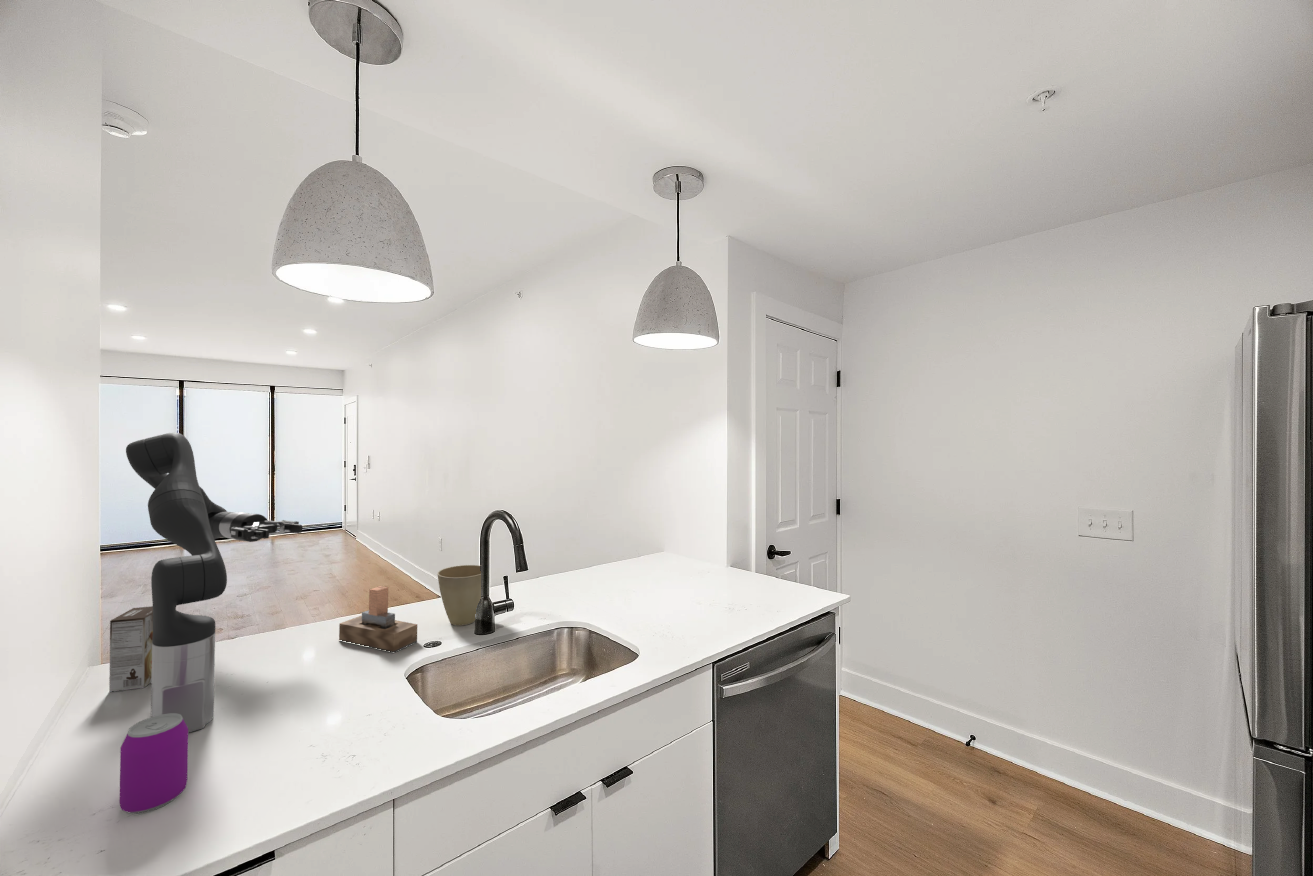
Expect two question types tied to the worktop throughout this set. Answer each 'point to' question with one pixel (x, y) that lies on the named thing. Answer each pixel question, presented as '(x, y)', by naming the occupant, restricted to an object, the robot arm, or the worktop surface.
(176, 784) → the beverage can
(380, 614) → the block on stand
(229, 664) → the worktop surface
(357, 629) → the slotted block
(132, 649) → the coffee box
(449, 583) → the plant pot
